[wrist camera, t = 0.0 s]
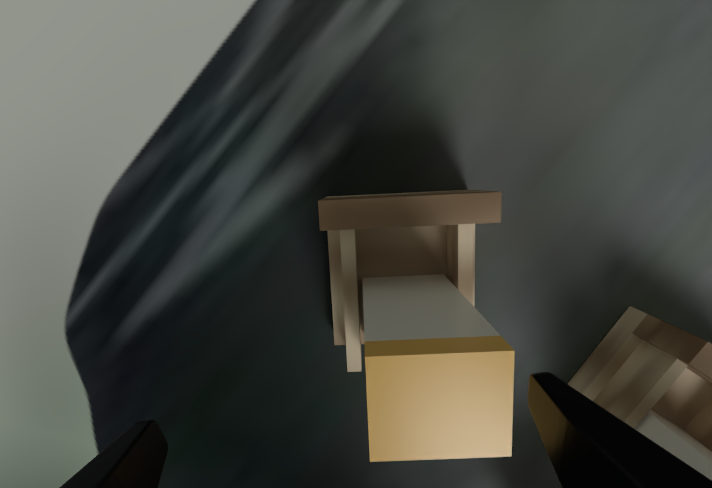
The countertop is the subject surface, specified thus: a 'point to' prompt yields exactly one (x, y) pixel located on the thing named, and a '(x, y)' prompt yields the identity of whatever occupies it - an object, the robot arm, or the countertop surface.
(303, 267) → the countertop surface
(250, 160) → the countertop surface
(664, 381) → the guide
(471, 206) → the guide
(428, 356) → the button
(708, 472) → the button
